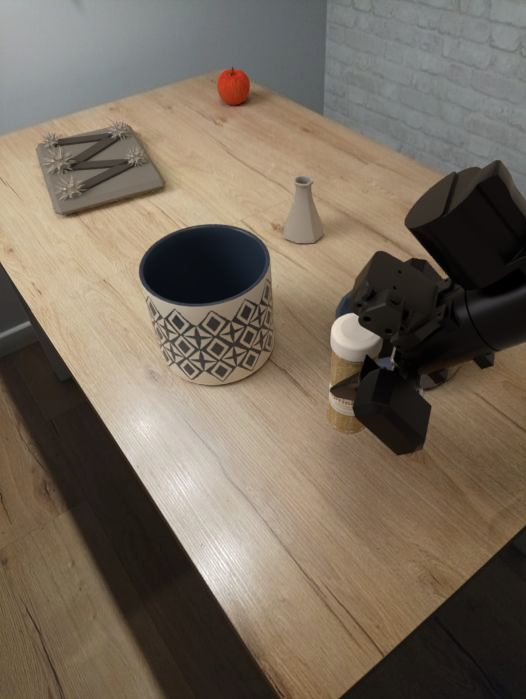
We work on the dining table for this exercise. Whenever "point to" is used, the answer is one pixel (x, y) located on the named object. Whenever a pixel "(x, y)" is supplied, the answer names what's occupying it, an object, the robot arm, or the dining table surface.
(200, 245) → the planter
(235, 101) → the apple
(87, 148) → the decorative plate
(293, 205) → the flask
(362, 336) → the sprinkles bottle
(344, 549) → the dining table surface
